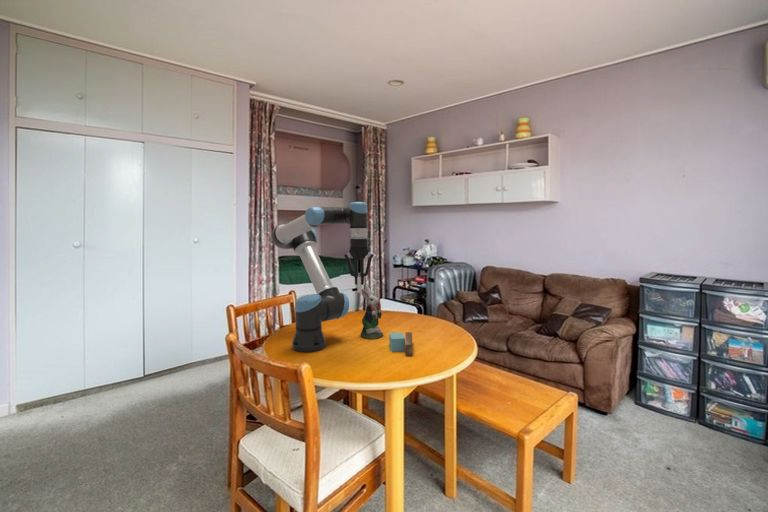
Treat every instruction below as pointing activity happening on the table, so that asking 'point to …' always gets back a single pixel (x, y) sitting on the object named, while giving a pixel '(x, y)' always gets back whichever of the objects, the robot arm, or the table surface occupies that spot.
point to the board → (408, 344)
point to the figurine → (371, 316)
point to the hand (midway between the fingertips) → (359, 291)
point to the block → (397, 342)
